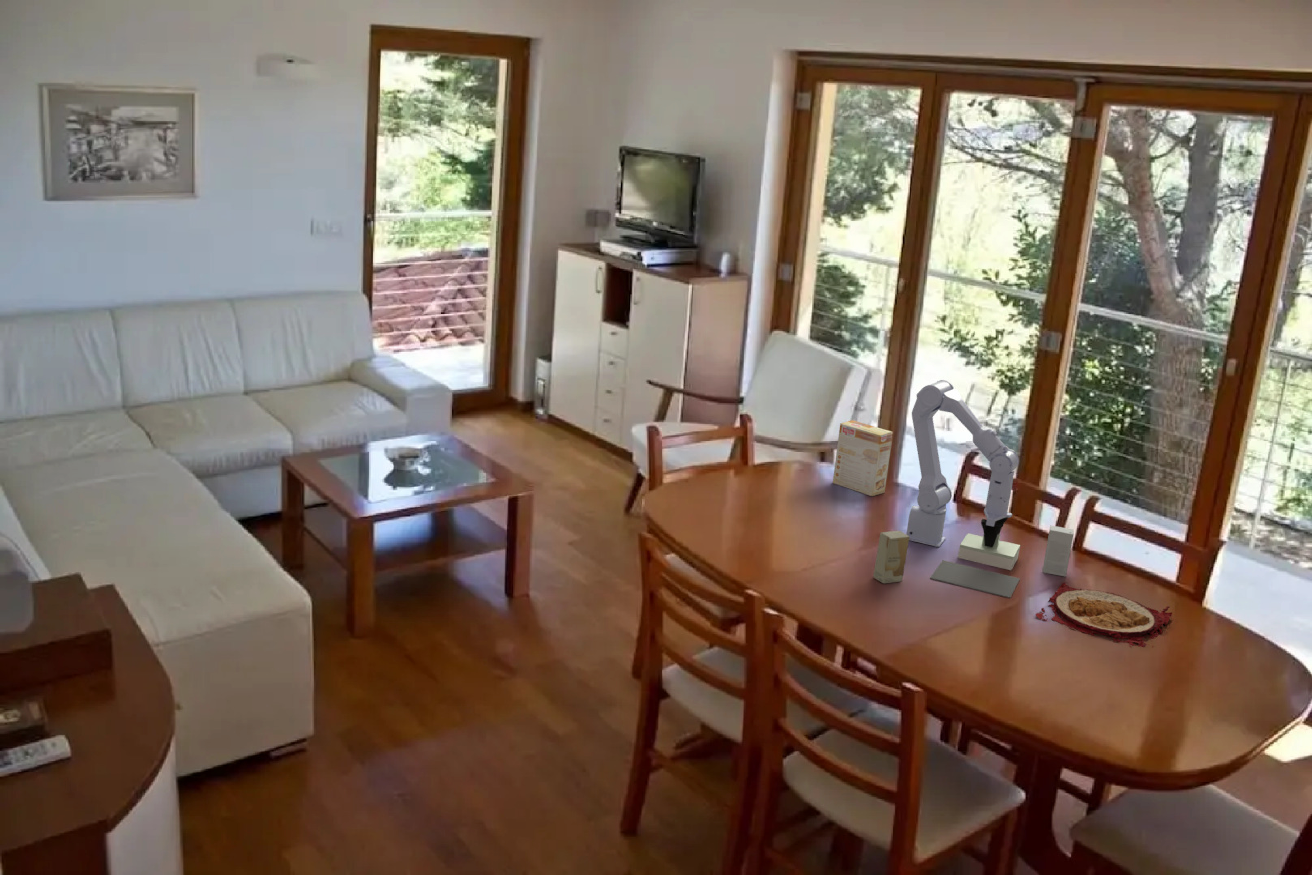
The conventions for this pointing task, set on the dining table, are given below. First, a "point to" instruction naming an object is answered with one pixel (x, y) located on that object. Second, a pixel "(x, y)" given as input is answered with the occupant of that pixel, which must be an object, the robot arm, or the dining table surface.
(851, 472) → the coffeecake box
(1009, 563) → the parts tray
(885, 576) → the skincare box
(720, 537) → the dining table surface
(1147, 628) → the plate with food
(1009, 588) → the mat
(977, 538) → the lid
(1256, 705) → the dining table surface
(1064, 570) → the skincare box
